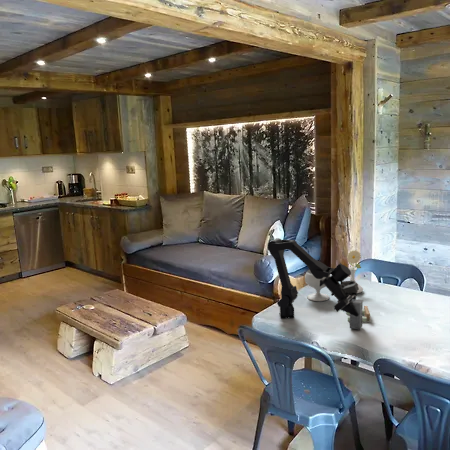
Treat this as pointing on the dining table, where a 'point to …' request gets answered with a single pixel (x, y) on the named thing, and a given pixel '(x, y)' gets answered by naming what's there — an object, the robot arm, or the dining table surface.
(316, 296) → the chalice
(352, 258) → the flower in vase
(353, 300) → the block
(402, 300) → the dining table surface
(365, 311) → the keeper
